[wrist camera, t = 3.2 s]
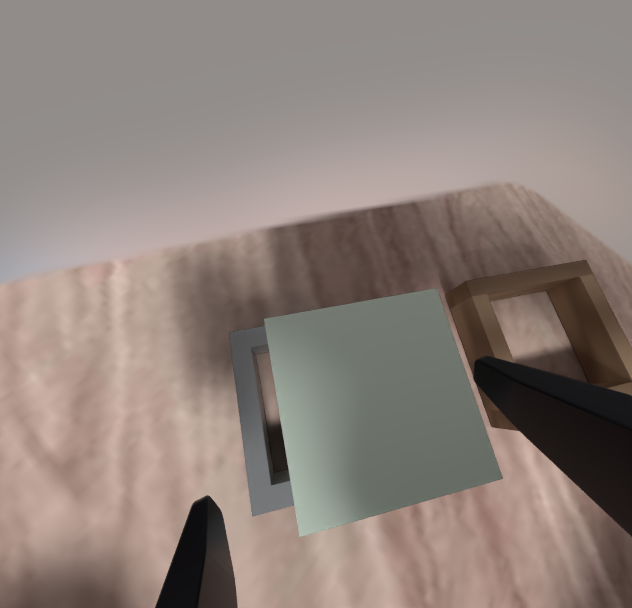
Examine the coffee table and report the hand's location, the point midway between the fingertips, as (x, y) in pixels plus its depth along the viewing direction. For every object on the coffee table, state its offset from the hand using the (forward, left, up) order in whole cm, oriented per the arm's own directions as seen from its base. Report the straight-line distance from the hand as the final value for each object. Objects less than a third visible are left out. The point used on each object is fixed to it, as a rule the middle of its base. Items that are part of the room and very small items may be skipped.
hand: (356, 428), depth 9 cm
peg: (+1, 0, -9) cm, 9 cm away
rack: (+2, -14, -8) cm, 16 cm away
